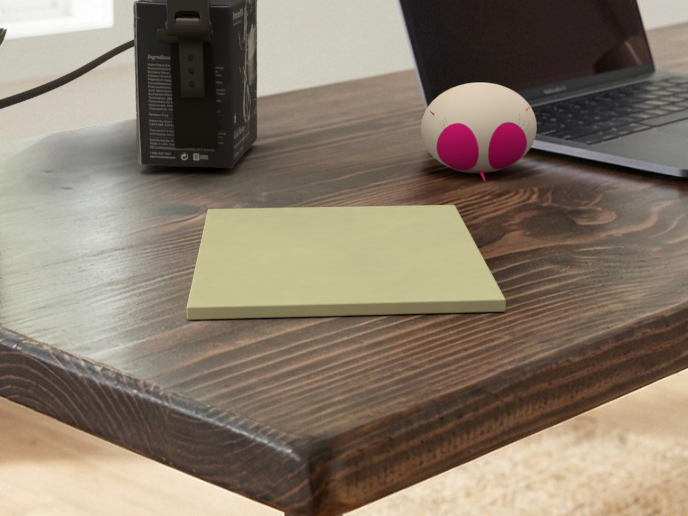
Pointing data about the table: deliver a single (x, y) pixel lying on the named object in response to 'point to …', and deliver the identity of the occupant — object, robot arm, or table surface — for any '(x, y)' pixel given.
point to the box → (231, 85)
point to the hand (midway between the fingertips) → (201, 130)
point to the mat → (339, 263)
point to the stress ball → (478, 128)
